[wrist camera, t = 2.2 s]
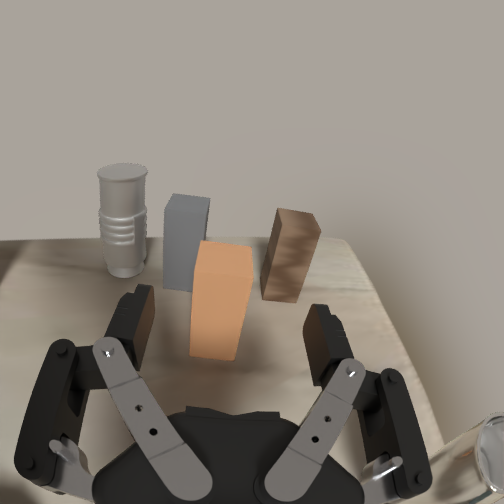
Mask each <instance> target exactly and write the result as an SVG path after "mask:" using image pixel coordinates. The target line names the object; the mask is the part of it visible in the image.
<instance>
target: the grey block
mask: <svg viewBox="0 0 504 504" xmlns="http://www.w3.org/2000/svg"><path fill="white" fill-rule="evenodd" d="M209 204H210V198H206V197H198V196H190V195H182V194H173V195H172V197H171V198H170V200H169V202H168V204H167V206H166V207H165V210H164V240H163V288H167V289H174V290H181V291H188V292H193V281H194V269H195V265H196V260H197V255H198V251H199V246H200V242H201V240H203V241H205V239H206V230H207V221H208V213H209Z"/></svg>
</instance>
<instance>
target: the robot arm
mask: <svg viewBox="0 0 504 504" xmlns="http://www.w3.org/2000/svg"><path fill="white" fill-rule="evenodd" d="M154 314H155V304H154V289H153V286H151V285H144V284H138V285H137V287H136V290H135V292H134V293H128V292H127V293H126V294H125V295H124V296H123V297H122V298H121V299H120V301H119V303H118V305H117V308H116V310H115V312H114V314H113V317H112V319H111V321H110V324H109V326H108V328H107V331H106V333H105V336H104V337H103V338H101V339H99V340H97V341H96V342H95V344H94V345H92V346H82V347H75V345H74V343H73V342H72V341H70V340H67V339H59V340H57V341H55V342H53V343H52V344H51V346H50V348H49V350H48V352H47V355H46V357H45V360H44V362H43V365H42V367H41V370H40V372H39V375H38V378H37V380H36V383H35V386H34V389H33V391H32V394H31V397H30V400H29V403H28V407H27V410H26V413H25V416H24V420H23V423H22V427H21V430H20V434H19V438H18V442H17V446H16V450H15V455H14V464H15V467H16V470H17V471H18V473H19V474H20V475H21V476H23V477H24V478H26V479H28V480H29V481H31V482H32V483H34V484H35V485H37V486H39V487H41V488H43V489H46V490H48V491H51V492H54V493H56V494H59V495H63V494H69V495H72V496H75V497H78V498H81V499H84V500H88V501H91V502H94V503H95V504H398V503H400V502H403V501H405V500H408V499H410V498H413V497H415V496H418V495H420V494H422V493H424V492H426V491H427V490H428V489H429V488H430V487H431V485H432V481H433V476H432V472H431V468H430V463H429V459H428V456H427V452H426V448H425V444H424V441H423V437H422V434H421V430H420V427H419V424H418V420H417V417H416V414H415V411H414V408H413V405H412V402H411V399H410V396H409V393H408V390H407V387H406V384H405V381H404V378H403V376H402V375H401V374H400V373H399V372H398V371H397V370H395V369H392V368H387V369H384V370H383V371H382V372H381V374H379V373H375V372H371V371H367V370H365V368H364V366H363V364H362V363H360V362H359V361H358V360H355V359H354V356H353V353H352V350H351V348H350V345H349V342H348V339H347V337H346V334H345V331H344V328H343V325H342V323H341V321H340V320H339V319H338V318H337V316H336V315H331V313H330V310H329V307H328V305H324V304H312V305H311V308H310V310H309V313H308V315H307V318H306V320H305V323H304V326H303V338H304V343H305V347H306V352H307V356H308V361H309V366H310V370H311V375H312V380H313V385H314V386H321V387H322V391H321V393H320V394H319V396H318V398H317V399H316V401H315V402H314V404H313V405H312V407H311V409H310V410H309V412H308V413H307V415H306V416H305V418H304V419H303V420H302V422H301V423H300V424H299V426H298V425H296V424H294V423H293V422H291V421H289V420H286V419H283V418H280V413H279V412H260V411H257V412H252V413H246V414H241V415H229V414H226V413H222V412H219V411H216V410H213V409H209V408H199V407H191V406H186V412H180V413H175V414H172V415H170V416H168V417H166V416H165V414H164V412H163V411H162V409H161V408H160V406H159V405H158V403H157V402H156V400H155V398H154V397H153V395H152V393H151V392H150V390H149V389H148V387H147V385H146V383H145V382H144V380H143V379H142V377H139V376H138V374H137V372H136V371H140V368H141V364H142V360H143V356H144V352H145V349H146V345H147V341H148V338H149V334H150V331H151V327H152V324H153V320H154ZM92 389H108V391H109V393H110V395H111V397H112V399H113V401H114V403H115V405H116V407H117V409H118V411H119V413H120V415H121V417H122V419H123V420H124V422H125V424H126V426H127V428H128V430H129V432H130V433H131V435H132V437H133V439H134V440H135V443H133V444H132V445H131V446H130V447H129V448H127V449H126V450H125V451H124V452H122V453H121V454H120V455H119V456H117V457H116V458H115V459H114V460H112V461H111V462H110V463H108V464H107V465H106V466H105V467H103V468H102V469H101V470H100V471H99V472H98V473H97V474H96V475H95V477H94V476H92V475H91V473H90V472H89V469H88V461H87V457H86V455H85V453H84V452H83V451H82V450H81V449H80V448H79V447H78V442H79V437H80V432H81V427H82V422H83V417H84V413H85V408H86V404H87V400H88V396H89V392H90V390H92ZM352 409H357V412H358V417H359V422H360V427H361V432H362V437H363V442H364V448H365V453H366V459H367V465H366V466H365V467H364V468H363V470H362V475H361V482H359V481H358V480H357V479H356V478H355V477H354V476H352V475H351V474H350V473H349V472H348V471H347V470H346V469H344V468H343V467H342V466H341V465H340V464H339V463H338V462H337V461H335V460H334V459H333V458H332V457H331V456H330V455H329V454H328V453H329V451H330V450H331V448H332V446H333V445H334V443H335V441H336V439H337V437H338V436H339V434H340V432H341V430H342V428H343V426H344V424H345V422H346V420H347V418H348V417H349V415H350V413H351V411H352Z"/></svg>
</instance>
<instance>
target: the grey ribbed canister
mask: <svg viewBox="0 0 504 504" xmlns="http://www.w3.org/2000/svg"><path fill="white" fill-rule="evenodd" d="M147 173H148V170H147V168H146V167H145V166H142V165H139V164H132V163H120V164H113V165H108V166H105V167H103V168H101V169H99V170H98V173H97V175H98V178H99V182H100V207H101V208H100V209H99V217H100V218H99V224H100V232H101V240H102V241H103V258H104V260H105V262H106V263H107V264H108V266H107V268H108V271H109V273H110V274H111V275H113V276H115V277H119V278H130V277H133V276H136V275H138V274H139V273H141V272H142V270H143V269H144V262H143V261H144V260H145V258H146V255H147V253H146V244H145V238H146V235H147V231H146V227H147V224H146V220H147V216H146V213H147V208H146V206H145V176H146V175H147Z"/></svg>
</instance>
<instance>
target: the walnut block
mask: <svg viewBox="0 0 504 504" xmlns="http://www.w3.org/2000/svg"><path fill="white" fill-rule="evenodd" d="M320 233H321V229H320V228H319V225H318V224H317V222H316V220H315V218H314V216H313V214H311V213H306V212H299V211H294V210H288V209H282V208H277V212H276V216H275V220H274V224H273V228H272V232H271V236H270V241H269V245H268V249H267V253H266V257H265V261H264V265H263V269H262V273H261V277H260V281H261V291H262V300H267V301H277V302H288V303H296V302H297V299H298V297H299V294H300V291H301V288H302V286H303V283H304V280H305V277H306V274H307V272H308V269H309V266H310V263H311V260H312V257H313V254H314V251H315V248H316V245H317V242H318V239H319V236H320Z"/></svg>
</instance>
